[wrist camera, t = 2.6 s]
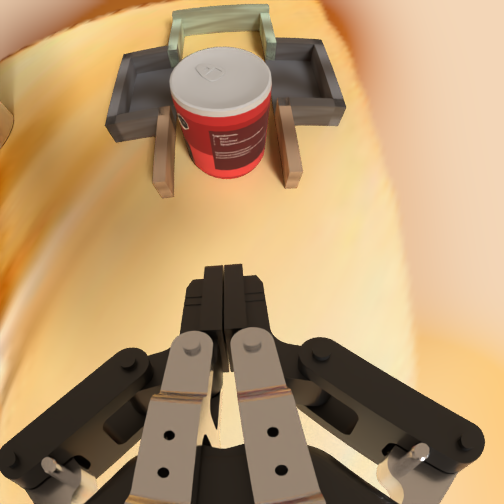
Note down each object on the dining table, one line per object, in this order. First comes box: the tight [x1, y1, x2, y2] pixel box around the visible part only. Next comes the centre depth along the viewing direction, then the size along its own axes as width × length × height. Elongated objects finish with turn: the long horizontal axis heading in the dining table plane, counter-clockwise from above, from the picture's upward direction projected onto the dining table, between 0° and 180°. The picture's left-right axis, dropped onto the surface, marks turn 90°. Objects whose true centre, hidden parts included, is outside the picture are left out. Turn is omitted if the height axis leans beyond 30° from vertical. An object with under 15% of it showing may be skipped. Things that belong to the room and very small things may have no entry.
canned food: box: [170, 47, 272, 179], centre depth 25 cm, size 8×8×11 cm
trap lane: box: [105, 4, 346, 198], centre depth 30 cm, size 28×25×4 cm
